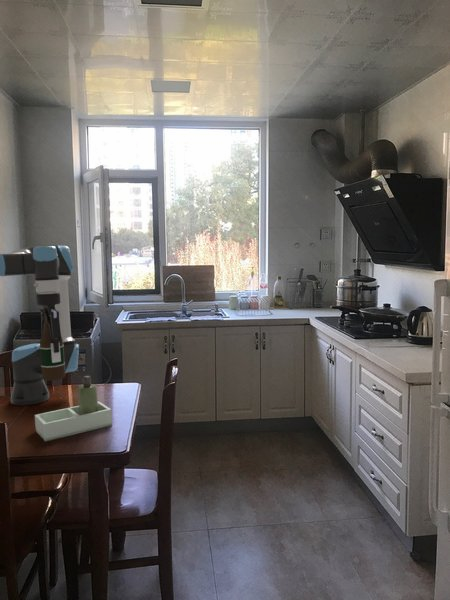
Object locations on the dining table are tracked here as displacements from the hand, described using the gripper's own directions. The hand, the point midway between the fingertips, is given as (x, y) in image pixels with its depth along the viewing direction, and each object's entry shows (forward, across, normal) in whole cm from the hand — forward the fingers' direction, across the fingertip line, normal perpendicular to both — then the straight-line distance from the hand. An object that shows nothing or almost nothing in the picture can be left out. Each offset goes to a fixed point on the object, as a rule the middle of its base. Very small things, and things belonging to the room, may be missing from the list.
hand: (52, 359), depth 167 cm
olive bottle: (+24, 0, +11) cm, 27 cm away
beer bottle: (+6, 0, 0) cm, 6 cm away
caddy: (+25, 0, +6) cm, 26 cm away
